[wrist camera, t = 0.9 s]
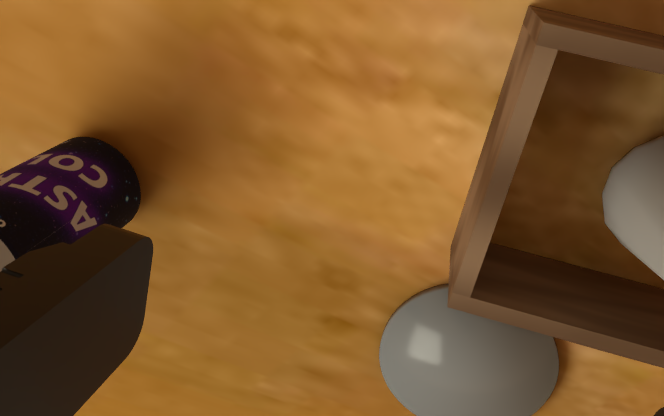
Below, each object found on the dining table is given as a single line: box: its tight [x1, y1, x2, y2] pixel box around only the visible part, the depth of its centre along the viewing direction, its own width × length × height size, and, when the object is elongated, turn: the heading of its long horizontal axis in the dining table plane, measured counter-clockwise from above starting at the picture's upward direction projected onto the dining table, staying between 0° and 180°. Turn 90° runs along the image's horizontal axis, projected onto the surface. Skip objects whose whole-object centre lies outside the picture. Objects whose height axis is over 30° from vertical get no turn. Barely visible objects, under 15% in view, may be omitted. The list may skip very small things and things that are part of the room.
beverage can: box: [0, 137, 141, 272], centre depth 30 cm, size 6×6×12 cm
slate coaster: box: [379, 284, 559, 416], centre depth 35 cm, size 10×10×1 cm
